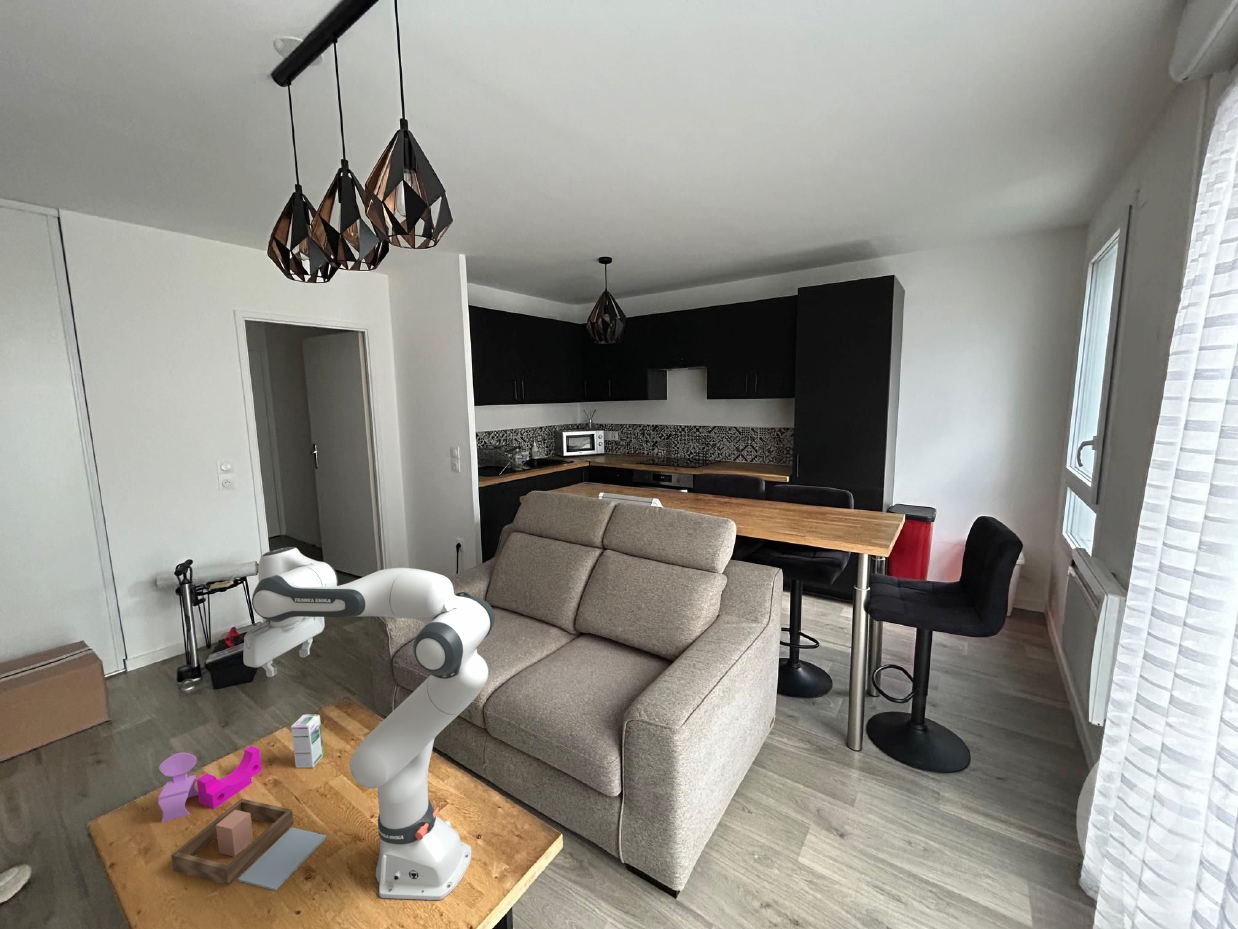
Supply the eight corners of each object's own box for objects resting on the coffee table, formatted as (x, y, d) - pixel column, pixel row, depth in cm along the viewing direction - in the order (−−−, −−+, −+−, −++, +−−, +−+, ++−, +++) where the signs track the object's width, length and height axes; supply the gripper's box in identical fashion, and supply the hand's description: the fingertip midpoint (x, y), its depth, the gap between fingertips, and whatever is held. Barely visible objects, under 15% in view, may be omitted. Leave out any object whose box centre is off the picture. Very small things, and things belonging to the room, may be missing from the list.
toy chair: (155, 825, 137) (148, 775, 135) (168, 802, 145) (162, 754, 143) (194, 815, 140) (187, 765, 138) (204, 792, 148) (198, 745, 146)
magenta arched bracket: (213, 809, 142) (210, 785, 141) (199, 803, 145) (196, 779, 144) (267, 773, 156) (264, 750, 155) (253, 768, 158) (251, 746, 157)
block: (253, 841, 132) (250, 813, 131) (234, 857, 127) (231, 829, 126) (238, 837, 133) (235, 809, 132) (219, 853, 128) (215, 825, 127)
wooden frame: (293, 824, 137) (292, 809, 136) (228, 886, 120) (226, 869, 119) (243, 813, 141) (241, 798, 140) (173, 871, 123) (171, 855, 123)
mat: (326, 838, 133) (326, 835, 133) (275, 892, 118) (275, 889, 118) (291, 830, 135) (291, 827, 135) (238, 881, 121) (237, 878, 121)
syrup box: (313, 768, 158) (309, 725, 156) (294, 768, 158) (290, 725, 156) (324, 755, 164) (320, 714, 162) (306, 755, 164) (302, 713, 162)
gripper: (255, 632, 114) (261, 690, 115) (327, 598, 133) (331, 647, 135) (232, 630, 115) (239, 686, 117) (307, 596, 135) (311, 645, 137)
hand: (288, 665), depth 126 cm, fingers open, 8 cm apart
